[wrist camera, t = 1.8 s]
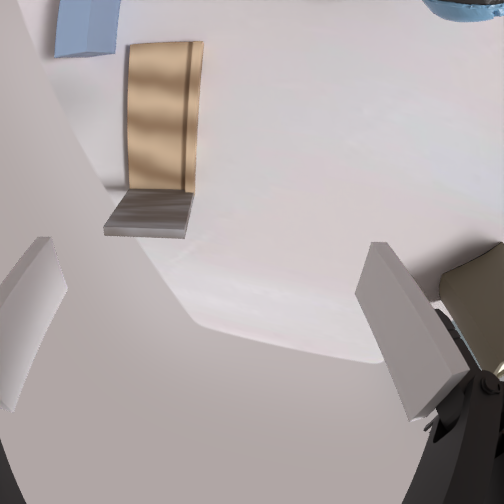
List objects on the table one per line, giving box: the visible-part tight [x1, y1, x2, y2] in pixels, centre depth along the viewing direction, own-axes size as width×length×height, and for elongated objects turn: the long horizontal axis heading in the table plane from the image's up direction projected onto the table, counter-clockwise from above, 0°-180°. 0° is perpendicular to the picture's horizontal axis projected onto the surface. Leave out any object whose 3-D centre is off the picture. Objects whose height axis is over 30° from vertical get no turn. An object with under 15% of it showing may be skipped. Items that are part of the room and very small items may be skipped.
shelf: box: [103, 41, 204, 239], centre depth 34 cm, size 23×10×14 cm, turn 174°
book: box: [439, 242, 504, 379], centre depth 50 cm, size 22×9×28 cm, turn 113°
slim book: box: [54, 0, 121, 58], centre depth 25 cm, size 11×4×10 cm, turn 174°
